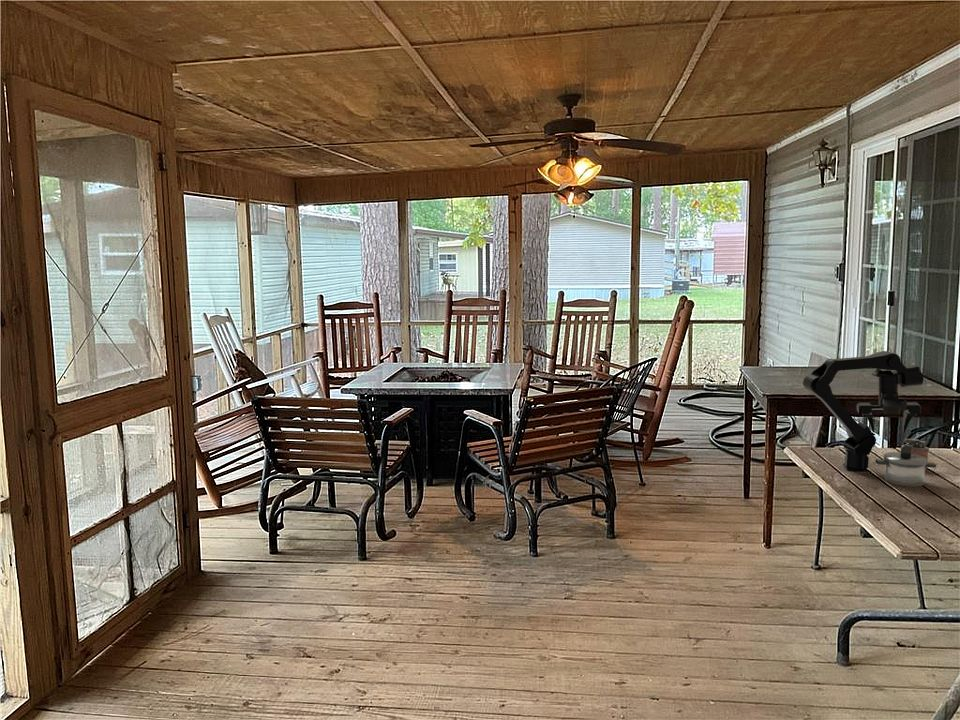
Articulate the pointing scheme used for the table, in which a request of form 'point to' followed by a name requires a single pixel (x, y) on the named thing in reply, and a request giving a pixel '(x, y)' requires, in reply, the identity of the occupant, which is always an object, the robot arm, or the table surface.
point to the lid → (906, 457)
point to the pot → (904, 473)
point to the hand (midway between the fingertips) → (888, 432)
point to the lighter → (918, 448)
